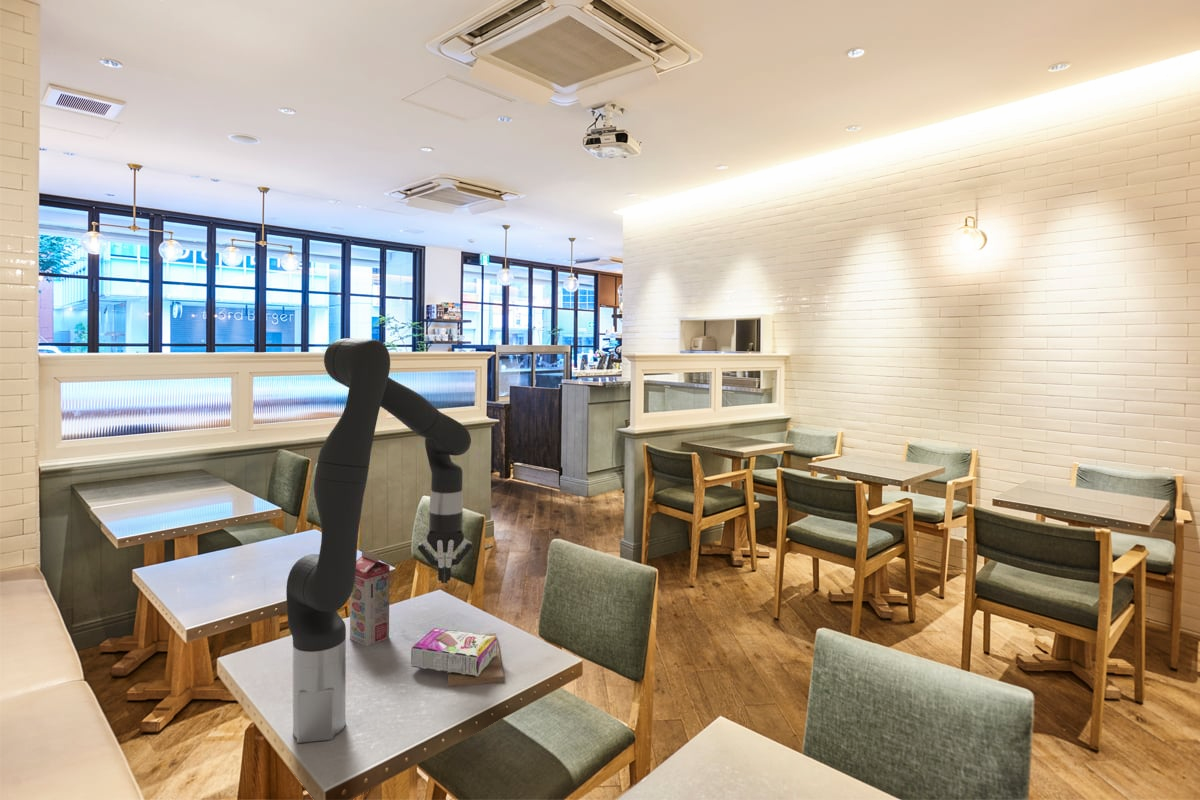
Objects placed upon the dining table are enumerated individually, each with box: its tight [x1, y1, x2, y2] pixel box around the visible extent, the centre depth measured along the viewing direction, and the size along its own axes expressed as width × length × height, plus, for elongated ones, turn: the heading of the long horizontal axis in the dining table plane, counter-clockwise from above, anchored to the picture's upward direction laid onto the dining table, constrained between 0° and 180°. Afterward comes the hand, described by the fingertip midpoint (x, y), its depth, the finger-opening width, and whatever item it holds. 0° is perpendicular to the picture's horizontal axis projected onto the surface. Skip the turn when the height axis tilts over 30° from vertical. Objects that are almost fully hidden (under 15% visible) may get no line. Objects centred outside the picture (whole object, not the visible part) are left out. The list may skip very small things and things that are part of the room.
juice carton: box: [349, 549, 391, 648], centre depth 160 cm, size 7×7×22 cm
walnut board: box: [447, 632, 505, 687], centre depth 151 cm, size 22×12×1 cm, turn 14°
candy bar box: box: [410, 627, 498, 677], centre depth 148 cm, size 11×5×16 cm
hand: (444, 582), depth 150 cm, fingers closed
